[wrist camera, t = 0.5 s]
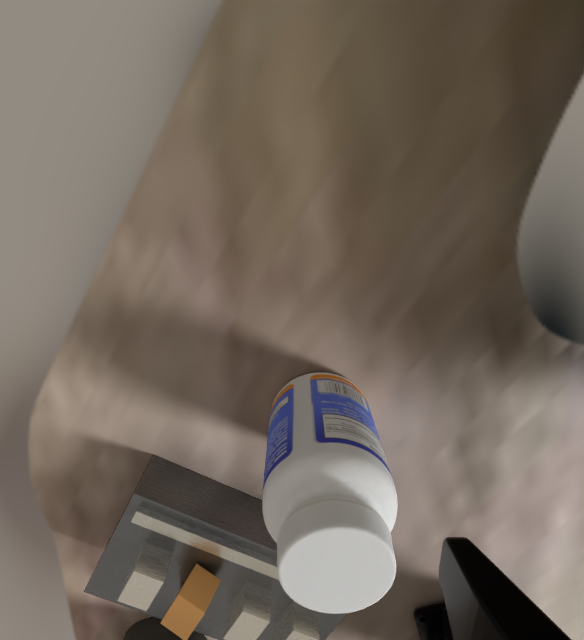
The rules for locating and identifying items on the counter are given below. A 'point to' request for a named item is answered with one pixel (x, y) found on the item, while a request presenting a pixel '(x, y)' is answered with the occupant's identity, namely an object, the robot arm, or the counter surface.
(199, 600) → the breaker paddle
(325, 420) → the pill bottle
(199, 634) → the dark grey cylinder
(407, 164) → the counter surface
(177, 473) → the breaker panel
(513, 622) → the robot arm
